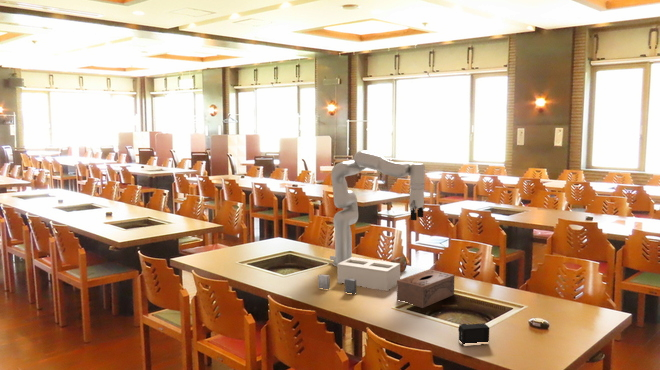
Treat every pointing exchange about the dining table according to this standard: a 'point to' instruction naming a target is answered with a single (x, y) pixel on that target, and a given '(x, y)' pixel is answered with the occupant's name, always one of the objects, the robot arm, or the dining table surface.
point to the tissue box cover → (425, 288)
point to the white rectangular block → (369, 273)
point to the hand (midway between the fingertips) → (417, 218)
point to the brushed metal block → (350, 286)
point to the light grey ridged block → (324, 281)
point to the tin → (402, 263)
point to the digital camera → (473, 333)
